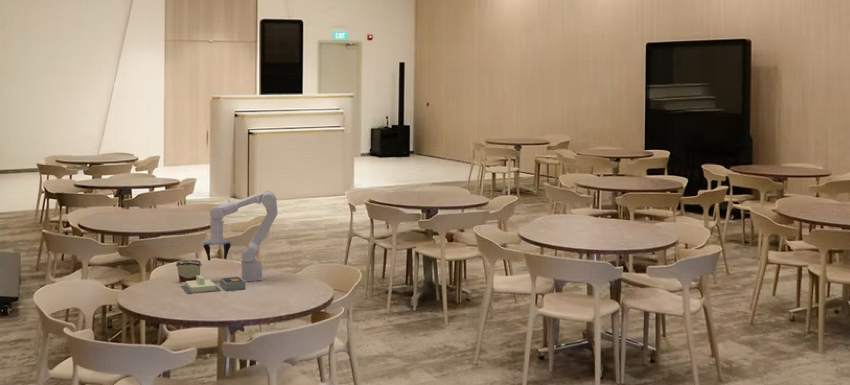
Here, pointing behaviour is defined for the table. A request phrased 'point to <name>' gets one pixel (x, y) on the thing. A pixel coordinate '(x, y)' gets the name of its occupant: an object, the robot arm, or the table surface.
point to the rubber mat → (197, 292)
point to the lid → (200, 284)
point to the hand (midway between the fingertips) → (217, 259)
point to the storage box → (232, 283)
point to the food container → (188, 270)
